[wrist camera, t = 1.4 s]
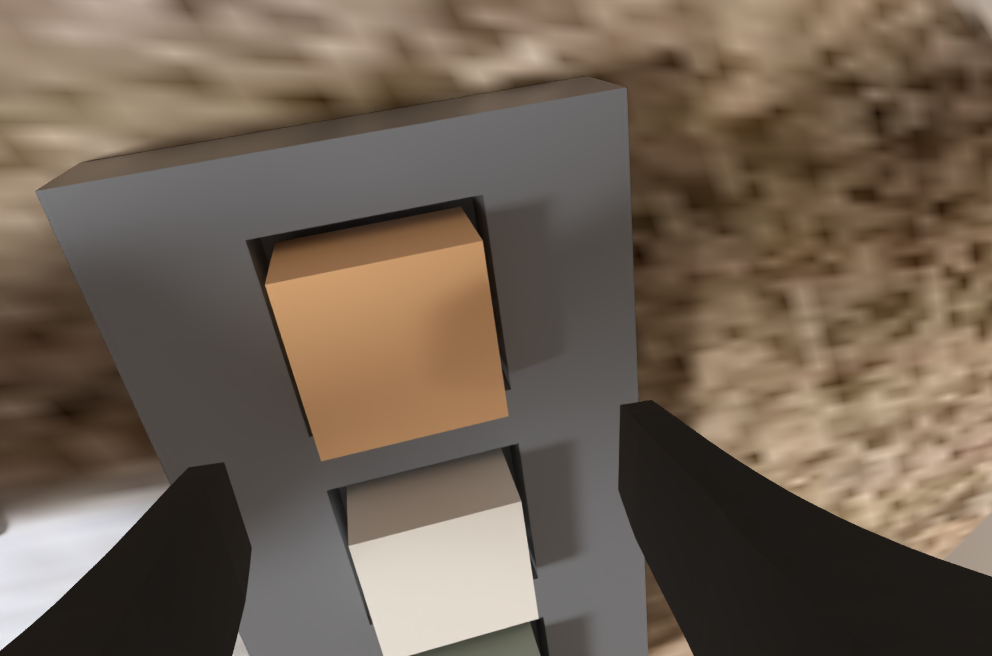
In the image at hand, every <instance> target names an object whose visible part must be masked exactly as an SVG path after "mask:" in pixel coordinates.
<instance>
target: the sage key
mask: <svg viewBox="0 0 992 656" xmlns="http://www.w3.org/2000/svg"><path fill="white" fill-rule="evenodd" d="M410 656H540V653H539V650H538V646H537V643H536V640H535V637H534V634H533V631H532V628H531V625H530V622H525V623H522V624H518V625H515V626H511V627H508V628H504V629H501V630H497V631H494V632H490V633H487V634H483V635H480V636H476V637H473V638H469V639H466V640H462V641H459V642H455V643H452V644H448V645H445V646H441V647H438V648H434V649H431V650H427V651H424V652H420V653H417V654H413V655H410Z"/></svg>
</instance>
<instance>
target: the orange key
mask: <svg viewBox="0 0 992 656" xmlns="http://www.w3.org/2000/svg"><path fill="white" fill-rule="evenodd" d="M265 287H266V290H267V293H268V296H269V299H270V303H271V306H272V309H273V312H274V315H275V318H276V321H277V324H278V328H279V331H280V334H281V337H282V340H283V343H284V346H285V349H286V353H287V356H288V359H289V362H290V365H291V368H292V371H293V374H294V378H295V381H296V384H297V387H298V390H299V393H300V396H301V400H302V403H303V406H304V409H305V412H306V415H307V418H308V421H309V425H310V428H311V431H312V434H313V437H314V440H315V443H316V446H317V450H318V453H319V456H320V459H321V461H325V460H329V459H333V458H337V457H342V456H346V455H350V454H354V453H358V452H362V451H366V450H371V449H375V448H379V447H383V446H387V445H391V444H396V443H400V442H404V441H408V440H412V439H416V438H421V437H425V436H429V435H433V434H437V433H441V432H445V431H450V430H454V429H458V428H462V427H466V426H470V425H475V424H479V423H483V422H487V421H491V420H495V419H499V418H504V417H508V416H509V415H508V408H507V401H506V394H505V388H504V381H503V374H502V368H501V361H500V354H499V347H498V341H497V334H496V327H495V320H494V314H493V307H492V300H491V293H490V287H489V280H488V273H487V266H486V260H485V253H484V246H483V241H482V239H481V237H480V236H479V234H478V233H477V231H476V230H475V228H474V226H473V225H472V223H471V222H470V220H469V219H468V217H467V215H466V214H465V212H464V211H463V209H462V208H461V206H460V207H455V208H450V209H445V210H440V211H435V212H429V213H424V214H419V215H414V216H409V217H404V218H399V219H393V220H388V221H383V222H378V223H373V224H368V225H363V226H357V227H352V228H347V229H342V230H337V231H332V232H327V233H321V234H316V235H311V236H306V237H301V238H296V239H291V240H285V241H280V242H275V244H274V249H273V253H272V257H271V261H270V265H269V270H268V274H267V278H266V282H265Z"/></svg>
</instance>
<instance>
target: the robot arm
mask: <svg viewBox="0 0 992 656" xmlns="http://www.w3.org/2000/svg"><path fill="white" fill-rule="evenodd" d="M618 491H619V494H620V497H621V500H622V503H623V505H624V508H625V511H626V514H627V517H628V520H629V523H630V525H631V528H632V531H633V534H634V536H635V539H636V541H637V543H638V545H639V547H640V549H641V551H642V553H643V555H644V557H645V559H646V561H647V563H648V565H649V567H650V569H651V571H652V573H653V575H654V577H655V579H656V581H657V583H658V585H659V587H660V589H661V591H662V593H663V595H664V597H665V599H666V601H667V603H668V605H669V606H670V608H671V610H672V612H673V614H674V616H675V618H676V620H677V622H678V624H679V626H680V628H681V630H682V632H683V634H684V636H685V638H686V640H687V642H688V644H689V646H690V649H691V651H692V653H693V655H694V656H992V577H991V576H988V575H985V574H982V573H979V572H976V571H973V570H970V569H967V568H964V567H961V566H959V565H956V564H952V563H950V562H947V561H944V560H941V559H938V558H935V557H933V556H930V555H927V554H925V553H922V552H919V551H917V550H914V549H911V548H909V547H906V546H904V545H901V544H899V543H897V542H894V541H892V540H889V539H887V538H885V537H882V536H880V535H878V534H875V533H873V532H870V531H868V530H866V529H863V528H861V527H859V526H857V525H855V524H852V523H850V522H848V521H846V520H844V519H842V518H839V517H837V516H836V515H834V514H832V513H830V512H828V511H826V510H824V509H822V508H820V507H818V506H816V505H814V504H812V503H810V502H808V501H806V500H804V499H802V498H800V497H798V496H797V495H795V494H793V493H791V492H789V491H787V490H786V489H784V488H782V487H781V486H779V485H777V484H776V483H774V482H772V481H770V480H769V479H767V478H765V477H764V476H762V475H760V474H759V473H757V472H755V471H754V470H752V469H751V468H749V467H748V466H746V465H744V464H743V463H741V462H740V461H738V460H737V459H735V458H734V457H732V456H731V455H729V454H727V453H726V452H725V451H723V450H722V449H720V448H719V447H717V446H716V445H714V444H713V443H711V442H710V441H708V440H707V439H706V438H704V437H703V436H701V435H700V434H699V433H697V432H696V431H694V430H693V429H692V428H690V427H689V426H687V425H686V424H685V423H683V422H682V421H680V420H679V419H678V418H676V417H675V416H673V415H672V414H671V413H669V412H668V411H666V410H665V409H664V408H662V407H661V406H659V405H658V404H656V403H655V402H653V401H652V400H649V401H643V402H636V403H629V404H622V405H620V428H619V473H618ZM251 551H252V546H251V543H250V540H249V537H248V534H247V531H246V528H245V525H244V522H243V519H242V516H241V513H240V509H239V506H238V503H237V500H236V497H235V494H234V491H233V488H232V485H231V482H230V479H229V476H228V472H227V469H226V466H225V463H224V462H222V463H215V464H208V465H201V466H194V467H188V468H187V469H186V470H185V471H184V472H183V473H182V474H181V475H180V476H179V477H178V478H177V480H176V481H175V482H174V483H173V484H172V485H171V486H170V487H169V488H168V489H167V490H166V491H165V492H164V493H163V495H162V496H161V497H160V498H159V499H158V500H157V501H156V502H155V503H154V504H153V505H152V506H151V508H150V509H149V510H148V511H147V512H146V513H145V514H144V515H143V516H142V517H141V518H140V519H139V520H138V521H137V523H136V524H135V525H134V526H133V527H132V528H131V529H130V530H129V531H128V532H127V533H126V534H125V535H124V536H123V537H122V538H121V539H120V540H119V541H118V543H117V544H116V545H115V546H114V547H113V548H112V549H111V550H110V551H109V552H108V553H107V554H106V555H105V556H104V557H103V558H102V559H101V560H100V561H99V562H98V563H97V564H96V565H95V566H94V567H93V568H92V569H91V570H89V571H88V572H87V573H86V574H85V575H84V576H83V577H82V578H81V579H80V580H79V581H78V582H77V583H76V584H75V585H74V586H73V587H72V588H71V589H70V590H69V591H68V592H67V593H66V594H65V595H64V596H63V597H62V598H61V599H60V600H59V601H57V602H56V603H55V604H54V605H53V606H52V607H51V608H50V609H49V610H48V611H46V612H45V613H44V614H43V615H42V616H41V617H40V618H39V619H37V620H36V621H35V622H34V623H33V624H32V625H31V626H29V627H28V628H27V629H26V630H25V631H24V632H22V633H21V634H20V635H19V636H18V637H16V638H15V639H14V640H13V641H12V642H10V643H9V644H8V645H7V646H6V647H4V648H3V649H2V650H1V651H0V656H232V654H233V650H234V647H235V643H236V639H237V635H238V631H239V627H240V623H241V619H242V615H243V610H244V606H245V602H246V594H247V587H248V579H249V570H250V561H251Z"/></svg>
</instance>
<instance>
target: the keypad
mask: <svg viewBox="0 0 992 656" xmlns="http://www.w3.org/2000/svg"><path fill="white" fill-rule="evenodd" d="M35 192H36V194H37V196H38V199H39V201H40V203H41V205H42V207H43V209H44V211H45V214H46V216H47V218H48V220H49V222H50V224H51V227H52V229H53V231H54V233H55V235H56V237H57V240H58V242H59V244H60V246H61V248H62V250H63V253H64V255H65V257H66V259H67V261H68V263H69V266H70V268H71V270H72V272H73V274H74V276H75V279H76V281H77V283H78V285H79V287H80V289H81V292H82V294H83V296H84V298H85V300H86V302H87V305H88V307H89V309H90V311H91V313H92V315H93V318H94V320H95V322H96V324H97V326H98V328H99V331H100V333H101V335H102V337H103V339H104V341H105V344H106V346H107V348H108V350H109V352H110V354H111V357H112V359H113V361H114V363H115V365H116V367H117V370H118V372H119V374H120V376H121V378H122V380H123V383H124V385H125V387H126V389H127V391H128V393H129V396H130V398H131V400H132V402H133V404H134V406H135V408H136V411H137V413H138V415H139V417H140V419H141V421H142V424H143V426H144V428H145V430H146V432H147V434H148V437H149V439H150V441H151V443H152V445H153V447H154V450H155V452H156V454H157V456H158V458H159V460H160V463H161V465H162V467H163V469H164V471H165V473H166V476H167V478H168V480H169V482H170V484H171V485H172V484H173V483H174V482H175V481H176V480H177V478H178V477H179V476H180V475H181V474H182V473H183V472H184V471H185V470H186V469H187V468H188V467H194V466H201V465H208V464H215V463H222V462H224V463H225V466H226V469H227V472H228V476H229V479H230V482H231V485H232V488H233V491H234V494H235V497H236V500H237V503H238V506H239V509H240V513H241V516H242V519H243V522H244V525H245V528H246V531H247V534H248V537H249V540H250V543H251V546H252V551H251V561H250V570H249V579H248V587H247V594H246V602H245V606H244V610H243V615H242V619H241V623H240V627H239V634H240V636H241V638H242V640H243V642H244V644H245V647H246V649H247V651H248V653H249V655H250V656H383V653H382V650H381V647H380V644H379V640H378V637H377V634H376V631H375V628H374V625H373V622H372V619H371V615H370V612H369V609H368V606H367V603H366V600H365V597H364V593H363V590H362V587H361V584H360V581H359V578H358V575H357V572H356V568H355V565H354V562H353V559H352V556H351V553H350V550H349V547H348V518H347V485H351V484H355V483H359V482H363V481H367V480H371V479H375V478H380V477H384V476H388V475H392V474H396V473H400V472H404V471H408V470H412V469H416V468H420V467H424V466H428V465H432V464H436V463H440V462H444V461H448V460H452V459H457V458H461V457H465V456H469V455H473V454H477V453H481V452H485V451H489V450H493V449H497V448H501V449H502V452H503V455H504V457H505V460H506V462H507V465H508V468H509V470H510V473H511V475H512V478H513V481H514V483H515V486H516V489H517V491H518V494H519V496H520V499H521V502H522V509H523V516H524V522H525V529H526V536H527V543H528V549H529V556H530V563H531V570H532V576H533V583H534V590H535V597H536V603H537V610H538V617H539V619H536V620H532V621H529V622H530V625H531V628H532V631H533V634H534V637H535V640H536V643H537V646H538V650H539V653H540V656H648V636H647V610H646V583H645V557H644V555H643V553H642V551H641V549H640V547H639V545H638V543H637V541H636V539H635V536H634V534H633V531H632V528H631V525H630V523H629V520H628V517H627V514H626V511H625V508H624V505H623V503H622V500H621V497H620V494H619V491H618V473H619V428H620V405H622V404H629V403H636V402H639V398H638V372H637V345H636V319H635V292H634V266H633V239H632V213H631V186H630V160H629V133H628V107H627V87H624V86H620V85H617V84H613V83H610V82H606V81H603V80H599V79H595V78H592V77H588V76H584V77H578V78H572V79H566V80H560V81H554V82H549V83H543V84H537V85H531V86H525V87H519V88H514V89H508V90H502V91H496V92H490V93H484V94H479V95H473V96H467V97H461V98H455V99H449V100H444V101H438V102H432V103H426V104H420V105H415V106H409V107H403V108H397V109H391V110H385V111H380V112H374V113H368V114H362V115H356V116H350V117H345V118H339V119H333V120H327V121H321V122H315V123H310V124H304V125H298V126H292V127H286V128H281V129H275V130H269V131H263V132H257V133H251V134H246V135H240V136H234V137H228V138H222V139H216V140H211V141H205V142H199V143H193V144H187V145H181V146H176V147H170V148H164V149H158V150H152V151H146V152H141V153H135V154H129V155H123V156H117V157H112V158H106V159H100V160H94V161H88V162H82V163H79V164H77V165H76V166H74V167H73V168H71V169H69V170H68V171H66V172H65V173H63V174H62V175H60V176H58V177H57V178H55V179H54V180H52V181H50V182H49V183H47V184H46V185H44V186H43V187H41V188H39V189H38V190H36V191H35ZM460 206H461V208H462V209H463V211H464V212H465V214H466V215H467V217H468V219H469V220H470V222H471V223H472V225H473V226H474V228H475V230H476V231H477V233H478V234H479V236H480V237H481V239H482V241H483V246H484V253H485V260H486V266H487V273H488V280H489V287H490V293H491V300H492V307H493V314H494V320H495V327H496V334H497V341H498V347H499V354H500V361H501V368H502V374H503V381H504V388H505V394H506V401H507V408H508V415H509V416H508V417H504V418H499V419H495V420H491V421H487V422H483V423H479V424H475V425H470V426H466V427H462V428H458V429H454V430H450V431H445V432H441V433H437V434H433V435H429V436H425V437H421V438H416V439H412V440H408V441H404V442H400V443H396V444H391V445H387V446H383V447H379V448H375V449H371V450H366V451H362V452H358V453H354V454H350V455H346V456H342V457H337V458H333V459H329V460H325V461H321V459H320V456H319V453H318V450H317V446H316V443H315V440H314V437H313V434H312V431H311V428H310V425H309V421H308V418H307V415H306V412H305V409H304V406H303V403H302V400H301V396H300V393H299V390H298V387H297V384H296V381H295V378H294V374H293V371H292V368H291V365H290V362H289V359H288V356H287V353H286V349H285V346H284V343H283V340H282V337H281V334H280V331H279V328H278V324H277V321H276V318H275V315H274V312H273V309H272V306H271V303H270V299H269V296H268V293H267V290H266V287H265V282H266V278H267V274H268V270H269V265H270V261H271V257H272V253H273V249H274V244H275V242H280V241H285V240H291V239H296V238H301V237H306V236H311V235H316V234H321V233H327V232H332V231H337V230H342V229H347V228H352V227H357V226H363V225H368V224H373V223H378V222H383V221H388V220H393V219H399V218H404V217H409V216H414V215H419V214H424V213H429V212H435V211H440V210H445V209H450V208H455V207H460Z"/></svg>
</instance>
